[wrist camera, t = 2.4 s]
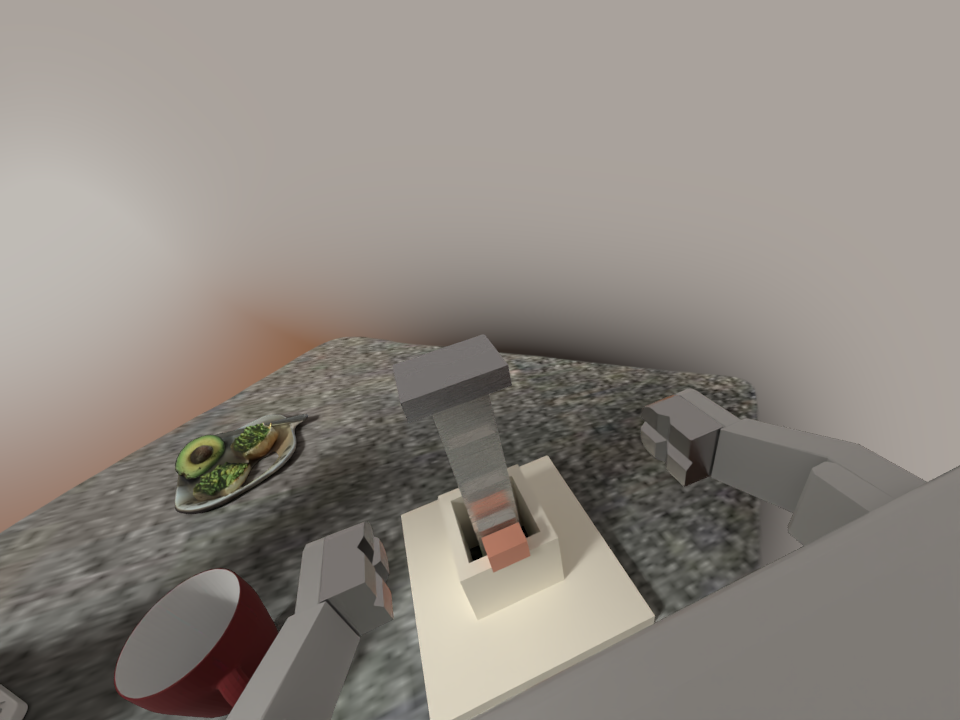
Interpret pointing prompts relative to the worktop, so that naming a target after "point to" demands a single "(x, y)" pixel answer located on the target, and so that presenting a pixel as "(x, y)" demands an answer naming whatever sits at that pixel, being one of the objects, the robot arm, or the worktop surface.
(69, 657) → the worktop surface
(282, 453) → the salad plate
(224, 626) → the mug
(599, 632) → the stand
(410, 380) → the column
